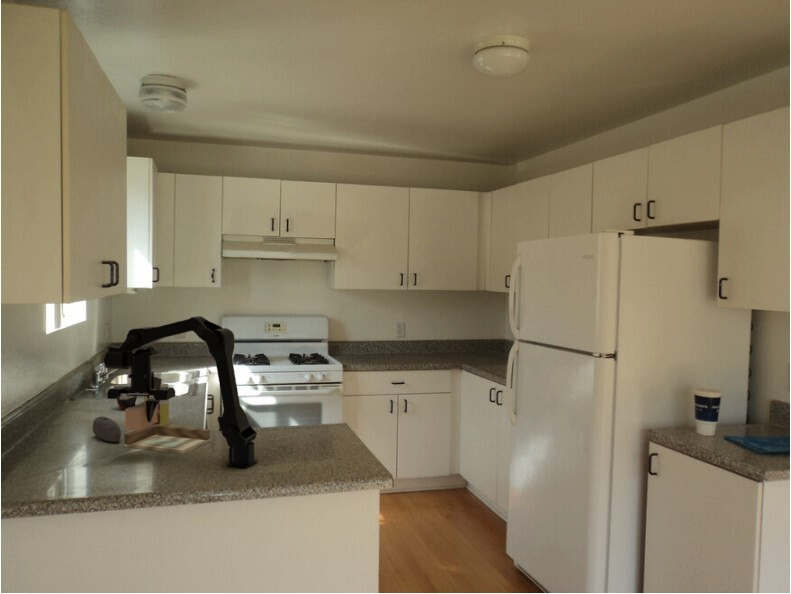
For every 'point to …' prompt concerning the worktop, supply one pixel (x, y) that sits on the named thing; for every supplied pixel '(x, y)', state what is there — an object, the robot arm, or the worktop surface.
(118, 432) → the grey stone
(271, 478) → the worktop surface
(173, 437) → the wooden structure
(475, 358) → the worktop surface
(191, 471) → the worktop surface
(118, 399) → the mug
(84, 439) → the worktop surface
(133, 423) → the terracotta block
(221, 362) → the robot arm
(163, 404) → the candy box
